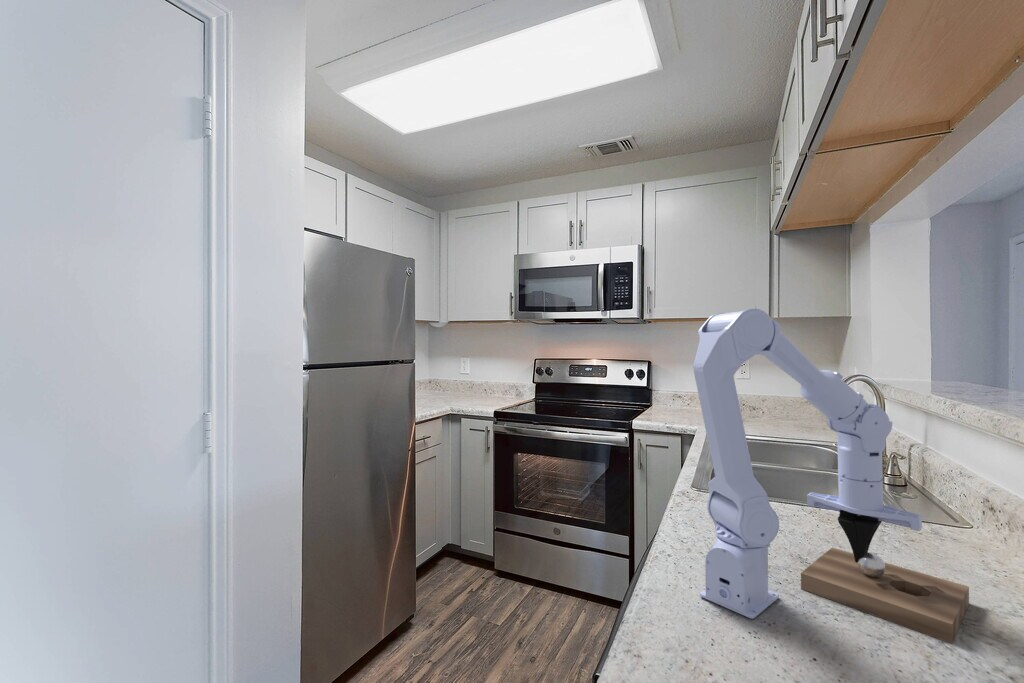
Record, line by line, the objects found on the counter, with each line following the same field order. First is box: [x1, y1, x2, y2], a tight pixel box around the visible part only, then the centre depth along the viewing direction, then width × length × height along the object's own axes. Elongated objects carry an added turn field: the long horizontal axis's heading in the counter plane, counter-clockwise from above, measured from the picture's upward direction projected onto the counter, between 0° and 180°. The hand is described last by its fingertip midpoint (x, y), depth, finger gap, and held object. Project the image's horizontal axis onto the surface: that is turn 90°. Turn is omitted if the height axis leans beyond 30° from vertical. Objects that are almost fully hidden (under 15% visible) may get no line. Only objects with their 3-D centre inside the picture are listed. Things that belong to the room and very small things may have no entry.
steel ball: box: [858, 552, 886, 577], centre depth 72 cm, size 4×4×4 cm
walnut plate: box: [800, 547, 970, 645], centre depth 71 cm, size 15×18×2 cm
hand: (861, 561), depth 73 cm, fingers closed, pressing on steel ball
